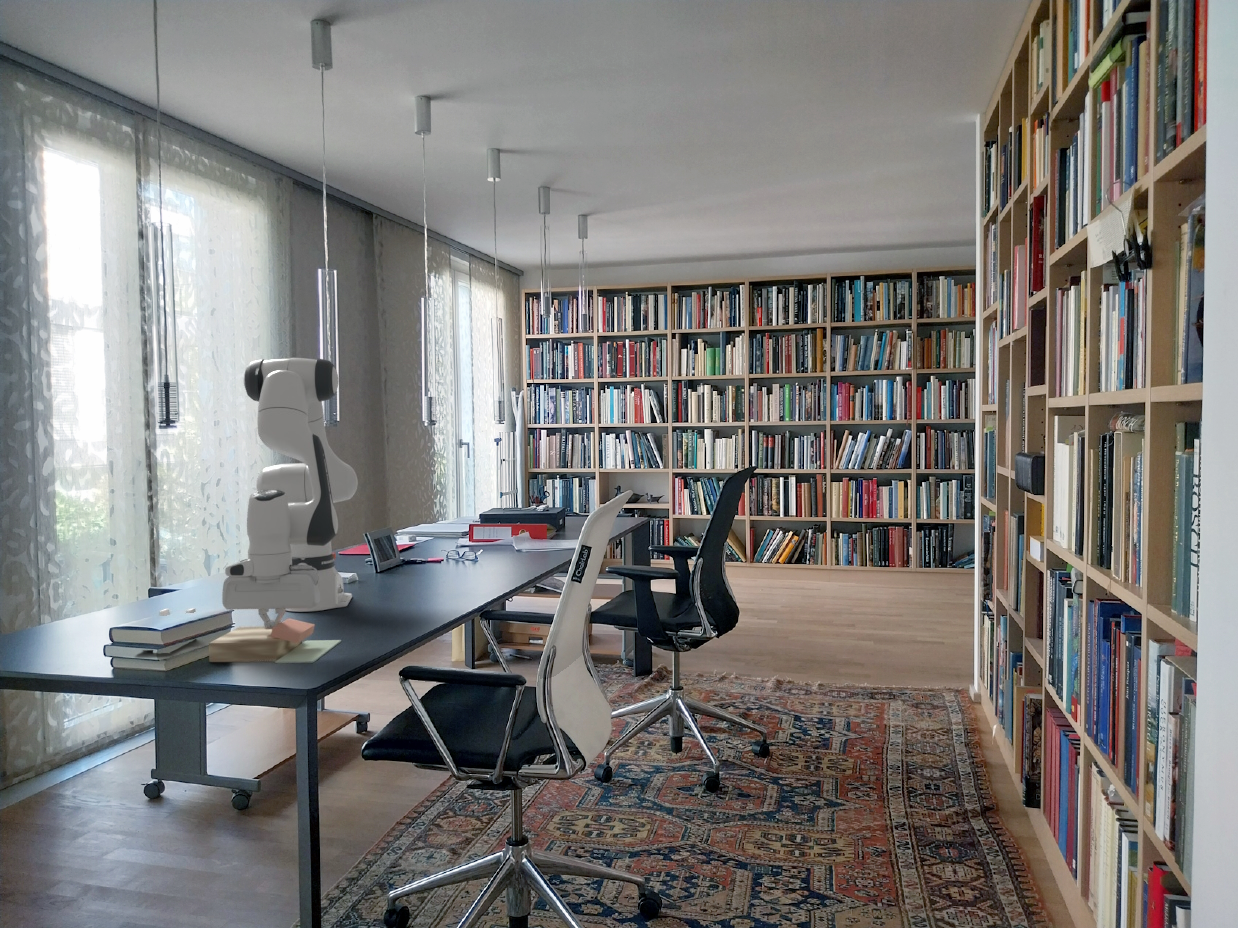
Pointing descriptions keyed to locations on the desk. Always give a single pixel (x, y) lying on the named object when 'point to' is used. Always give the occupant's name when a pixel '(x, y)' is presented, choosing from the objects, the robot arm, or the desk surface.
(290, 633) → the terracotta brick
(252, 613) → the desk surface
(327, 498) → the robot arm
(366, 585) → the desk surface
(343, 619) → the desk surface
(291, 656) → the mat
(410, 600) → the desk surface
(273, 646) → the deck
